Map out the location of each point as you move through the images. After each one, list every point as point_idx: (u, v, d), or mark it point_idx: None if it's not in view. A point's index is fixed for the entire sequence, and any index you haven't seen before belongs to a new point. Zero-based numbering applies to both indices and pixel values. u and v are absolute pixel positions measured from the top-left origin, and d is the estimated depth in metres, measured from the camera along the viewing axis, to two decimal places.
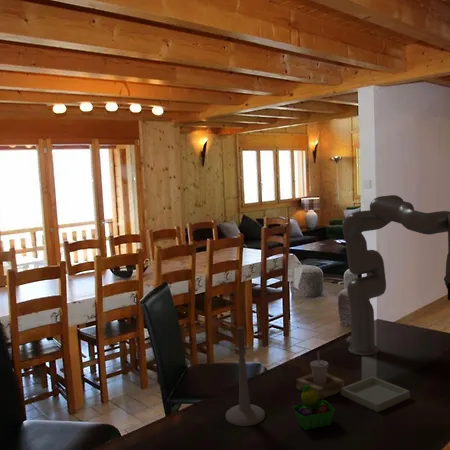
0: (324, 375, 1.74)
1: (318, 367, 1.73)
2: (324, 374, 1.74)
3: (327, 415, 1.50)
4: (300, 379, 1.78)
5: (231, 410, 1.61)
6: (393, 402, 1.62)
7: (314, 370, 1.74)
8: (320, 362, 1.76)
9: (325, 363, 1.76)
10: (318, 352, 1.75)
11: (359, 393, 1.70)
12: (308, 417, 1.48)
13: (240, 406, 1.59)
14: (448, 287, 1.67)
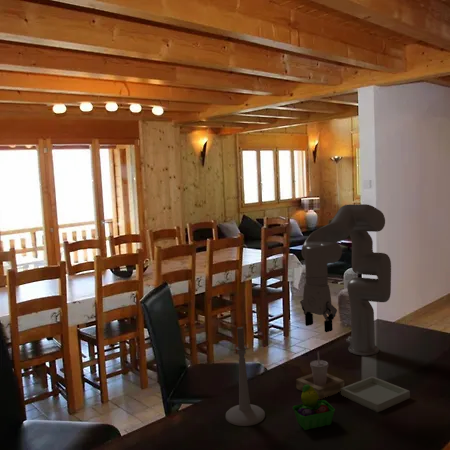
0: (324, 375, 1.74)
1: (318, 367, 1.73)
2: (324, 374, 1.74)
3: (327, 415, 1.50)
4: (300, 379, 1.78)
5: (231, 410, 1.61)
6: (393, 402, 1.62)
7: (314, 370, 1.74)
8: (320, 362, 1.76)
9: (325, 363, 1.76)
10: (318, 352, 1.75)
11: (359, 393, 1.70)
12: (308, 417, 1.48)
13: (240, 406, 1.59)
14: (330, 319, 1.68)
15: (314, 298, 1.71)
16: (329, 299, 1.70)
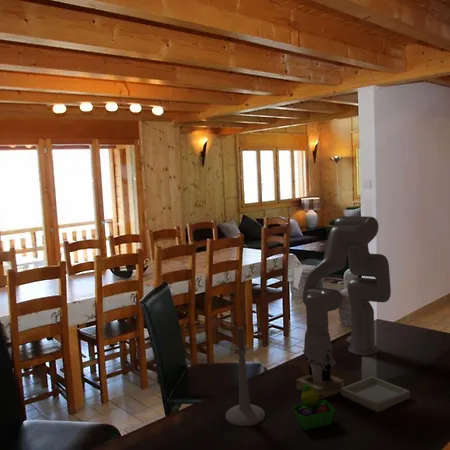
0: None
1: (318, 367, 1.73)
2: None
3: (327, 415, 1.50)
4: (300, 379, 1.78)
5: (231, 410, 1.61)
6: (393, 402, 1.62)
7: (314, 370, 1.74)
8: None
9: (325, 363, 1.75)
10: None
11: (359, 393, 1.70)
12: (308, 417, 1.48)
13: (240, 406, 1.59)
14: (328, 369, 1.72)
15: (315, 346, 1.72)
16: (330, 348, 1.72)
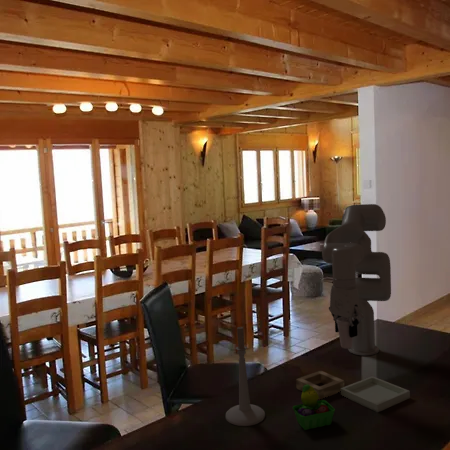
0: None
1: (345, 323, 1.67)
2: None
3: (327, 415, 1.50)
4: (300, 379, 1.78)
5: (231, 410, 1.61)
6: (393, 402, 1.62)
7: (340, 326, 1.68)
8: (346, 318, 1.70)
9: (352, 319, 1.70)
10: None
11: (359, 393, 1.70)
12: (308, 417, 1.48)
13: (240, 406, 1.59)
14: (355, 324, 1.66)
15: (342, 301, 1.67)
16: (357, 302, 1.66)
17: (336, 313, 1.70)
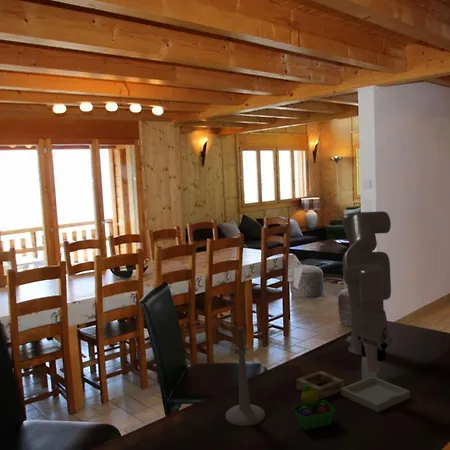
0: None
1: (373, 346, 1.64)
2: None
3: (327, 415, 1.50)
4: (300, 379, 1.78)
5: (231, 410, 1.61)
6: (393, 402, 1.62)
7: (368, 350, 1.65)
8: None
9: None
10: None
11: (359, 393, 1.70)
12: (308, 417, 1.48)
13: (240, 406, 1.59)
14: (384, 348, 1.62)
15: (370, 324, 1.63)
16: (386, 325, 1.62)
17: (363, 336, 1.66)
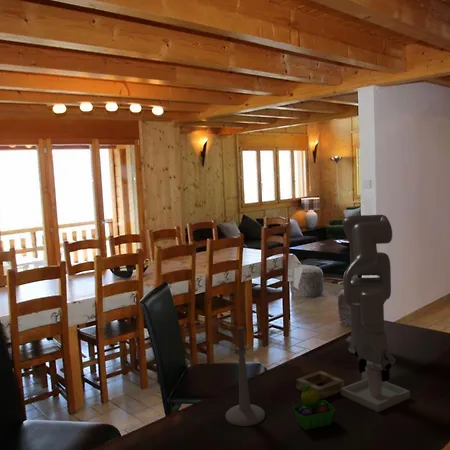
0: (380, 380, 1.66)
1: (374, 372, 1.65)
2: (380, 379, 1.66)
3: (327, 415, 1.50)
4: (300, 379, 1.78)
5: (231, 410, 1.61)
6: (393, 402, 1.62)
7: (370, 375, 1.66)
8: (375, 366, 1.68)
9: (381, 367, 1.67)
10: None
11: (359, 393, 1.70)
12: (308, 417, 1.48)
13: (240, 406, 1.59)
14: (388, 368, 1.62)
15: (370, 346, 1.64)
16: (386, 347, 1.63)
17: (364, 357, 1.67)
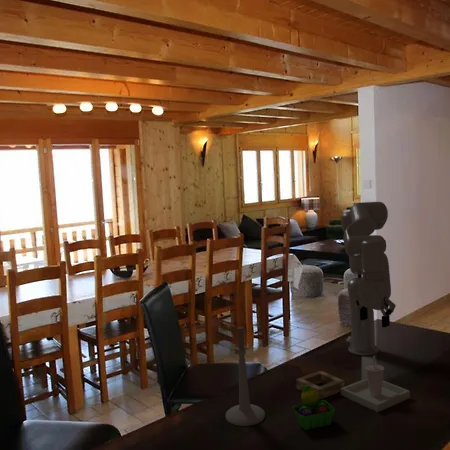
0: (380, 380, 1.66)
1: (374, 372, 1.65)
2: (380, 379, 1.66)
3: (327, 415, 1.50)
4: (300, 379, 1.78)
5: (231, 410, 1.61)
6: (393, 402, 1.62)
7: (370, 375, 1.66)
8: (375, 366, 1.68)
9: (381, 367, 1.67)
10: (374, 356, 1.66)
11: (359, 393, 1.70)
12: (308, 417, 1.48)
13: (240, 406, 1.59)
14: (388, 314, 1.66)
15: (371, 293, 1.68)
16: (387, 294, 1.67)
17: (365, 305, 1.71)
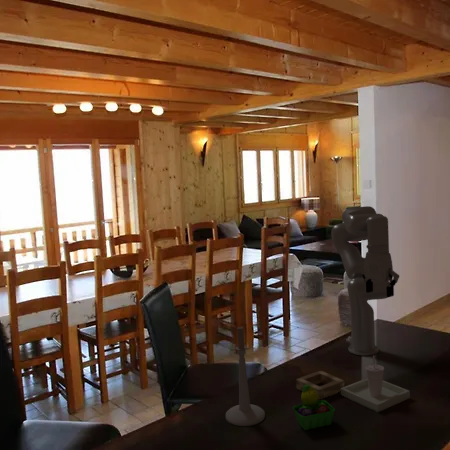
0: (380, 380, 1.66)
1: (374, 372, 1.65)
2: (380, 379, 1.66)
3: (327, 415, 1.50)
4: (300, 379, 1.78)
5: (231, 410, 1.61)
6: (393, 402, 1.62)
7: (370, 375, 1.66)
8: (375, 366, 1.68)
9: (381, 367, 1.67)
10: (374, 356, 1.66)
11: (359, 393, 1.70)
12: (308, 417, 1.48)
13: (240, 406, 1.59)
14: (393, 284, 1.79)
15: (376, 265, 1.81)
16: (391, 266, 1.81)
17: (371, 277, 1.84)
